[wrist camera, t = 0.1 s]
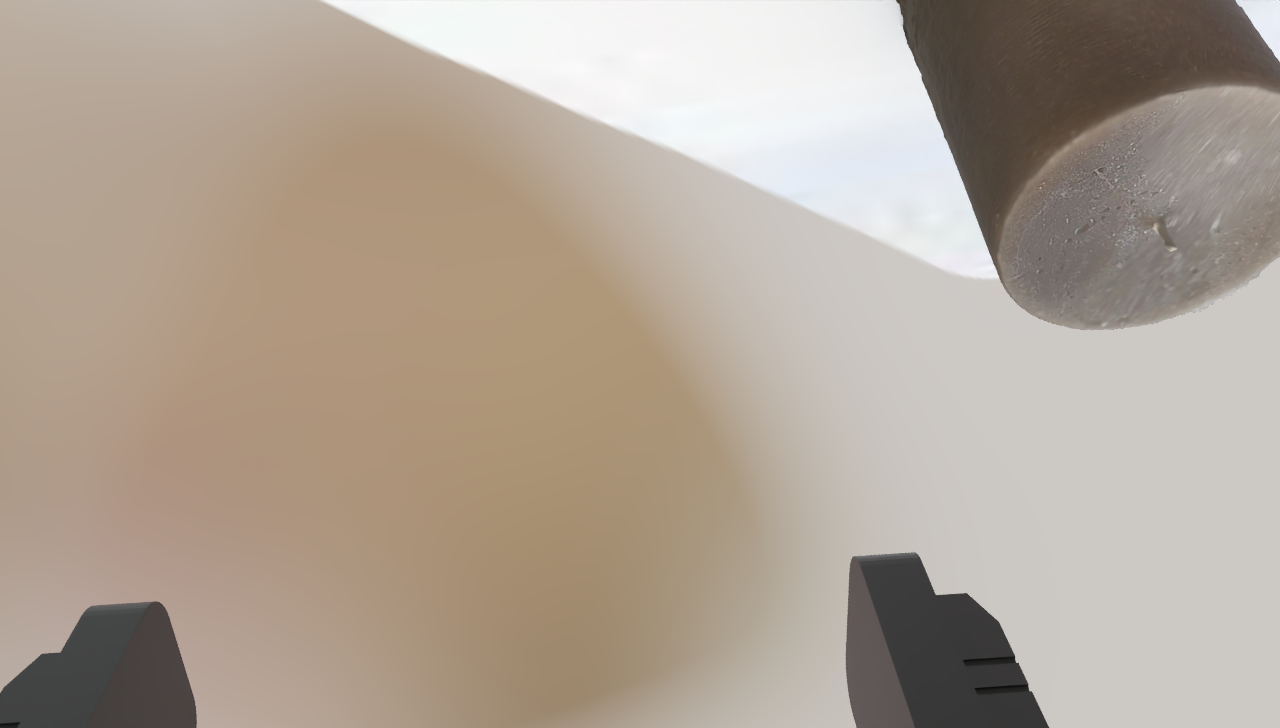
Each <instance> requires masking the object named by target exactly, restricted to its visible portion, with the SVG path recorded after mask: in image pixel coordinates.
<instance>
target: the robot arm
mask: <svg viewBox="0 0 1280 728" xmlns="http://www.w3.org/2000/svg"><path fill="white" fill-rule="evenodd" d="M848 597H849V598H848V619H847V642H846V673H847V683H848V691H849V698H850V703H851V708H852V712H853V716H854V719H855V723H856V726H857V728H1049V727H1048V725H1047V722H1046V720H1045V718H1044V716H1043V714H1042V712H1041V710H1040V708H1039V706H1038V703H1037V702H1036V699H1035V697H1034V695H1033V693H1032V692H1030V691H1029V688H1028V683H1027V680H1026V678H1025V676H1024V674H1023V672H1022V670H1021V668H1020V666H1019V663H1016V661H1015V655H1014V653H1013V651H1012V649H1011V647H1010V645H1009V642H1008V640H1007V638H1006V636H1005V634H1004V632H1003V630H1002V628H1001V626H1000V623H999V622H998V621H997V620H996V619H995V618H994V617H993V616H992V615H990V614H989V613H988V612H987V611H986V610H985V609H984V608H982V607H981V606H980V605H979V604H978V603H977V602H976V601H975V600H974V599H973V598H971V597H970V596H969V595H968V594H967V593H964V594H949V595H935V593H934V590H933V588H932V585H931V583H930V581H929V578H928V576H927V573H926V571H925V568H924V566H923V564H922V561H921V559H920V557H919V556H918V554H917V553H899V554H884V555H869V556H854V557H853V558H852V560H851V564H850V573H849V596H848ZM196 721H197V720H196V706H195V700H194V697H193V693H192V690H191V687H190V683H189V680H188V677H187V674H186V671H185V667H184V664H183V661H182V657H181V654H180V651H179V648H178V644H177V641H176V638H175V635H174V631H173V628H172V625H171V622H170V618H169V616H168V613H167V611H166V609H165V607H164V606H163V605H162V604H161V603H160V602H143V603H142V602H141V603H127V604H114V605H113V604H112V605H97V606H91V607H90V608H88V609H87V610H86V611H85V612H84V613H83V615H82V616H81V618H80V620H79V621H78V623H77V625H76V627H75V628H74V630H73V632H72V634H71V635H70V637H69V639H68V640H67V642H66V644H65V646H64V648H63V650H62V651H61V653H48V654H41V655H40V656H39V657H38V658H37V659H36V660H35V661H34V662H32V664H30V665H29V666H28V667H27V668H26V669H25V670H23V671H22V672H21V673H20V674H19V675H18V676H16V677H15V678H14V679H13V680H12V681H11V682H10V683H9V684H8V685H6V686H5V687H4V688H3V690H2V691H1V693H0V728H196V724H197V722H196Z"/></svg>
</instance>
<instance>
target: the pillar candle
mask: <svg viewBox="0 0 1280 728" xmlns="http://www.w3.org/2000/svg"><path fill="white" fill-rule="evenodd" d="M896 1H897V3H899V4H900V9H901V14H902V15H903V20H904V25H903V30H904V32H905V37H906V39H907V44H908V45H909V48H910V50H911V51H912V54H913V56H914V60H915V62H916V65H917V66H918V68H919V70H920V72H921V74H922V81H923V83H924V85H925V88H926V90H927V92H928V95H929V98H930V100H931V102H932V104H933V108H934V111H935V113H936V117H937V119H938V121H939V123H940V125H941V128H942V130H943V133H944V137H945V139H946V141H947V142H948V145H949V148H950V150H951V153H952V154H953V157H954V160H955V163H956V166H957V168H958V171H959V173H960V176H961V178H962V181H963V183H964V186H965V189H966V191H967V194H968V197H969V199H970V202H971V204H972V207H973V210H974V213H975V216H976V218H977V221H978V223H979V226H980V229H981V231H982V234H983V237H984V239H985V242H986V245H987V247H988V250H989V253H990V255H991V257H992V260H993V263H994V265H995V267H996V270H997V272H998V275H999V278H1000V280H1001V282H1002V284H1003V286H1004V288H1005V289H1006V291H1007V293H1008V294H1009V295H1010V297H1012V299H1013V300H1014V301H1015V302H1016V303H1017V304H1018V305H1019V306H1020V307H1022V308H1023V309H1025V310H1026V311H1027V312H1028V313H1030V314H1031V315H1033V316H1035V317H1037V318H1039V319H1042V320H1044V321H1047V322H1050V323H1052V324H1057V325H1060V326H1066V327H1069V328H1074V329H1080V330H1103V329H1110V330H1114V329H1123V328H1126V327H1138V326H1142V325H1148V324H1154V323H1158V322H1160V321H1163V320H1166V319H1171V318H1174V317H1176V316H1179V315H1183V314H1186V313H1189V312H1197V311H1201V310H1203V309H1205V308H1207V307H1208V306H1209V305H1212V304H1213V303H1214V302H1215V301H1216V300H1218V299H1223V298H1225V297H1227V296H1230V295H1232V294H1233V293H1235V292H1237V291H1238V290H1240V289H1242V288H1243V287H1245V286H1246V285H1247V284H1248V283H1249V281H1250V280H1252V279H1255V278H1257V277H1258V276H1259V274H1260V272H1261V271H1262V270H1263V269H1265V268H1266V267H1267V266H1268V265H1269V264H1270V263H1271V262H1272V261H1274V260H1275V259H1277V258H1278V257H1280V62H1279V61H1278V59H1277V58H1276V57H1275V55H1274V53H1273V52H1272V50H1271V49H1270V48H1269V47H1268V45H1267V44H1266V43H1265V41H1264V40H1263V38H1262V37H1261V35H1260V34H1259V32H1258V31H1257V30H1256V29H1255V27H1254V26H1253V24H1252V22H1251V21H1250V19H1249V18H1248V16H1247V15H1246V14H1245V12H1244V10H1243V9H1242V7H1240V6H1238V4H1237V3H1236V1H1235V0H896Z"/></svg>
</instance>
